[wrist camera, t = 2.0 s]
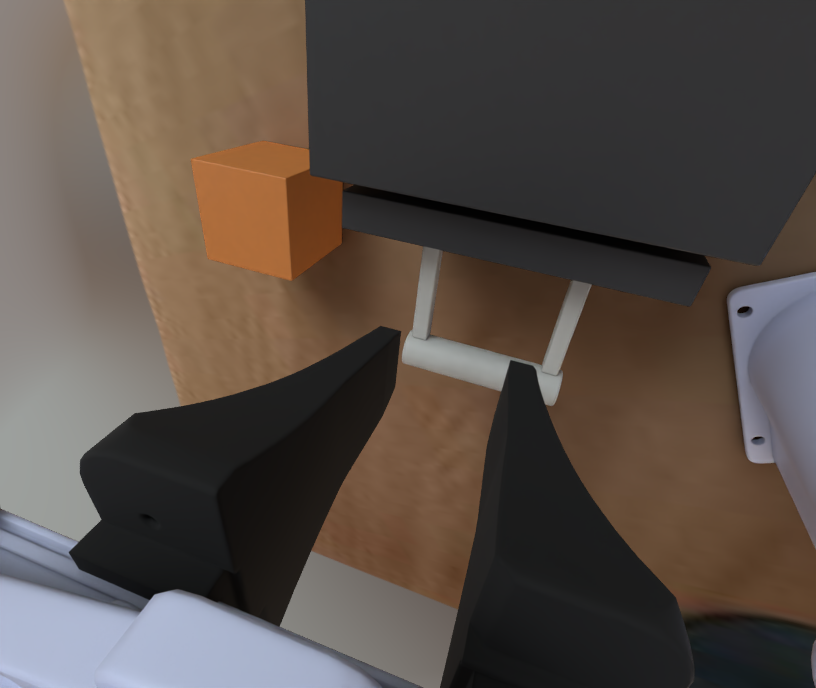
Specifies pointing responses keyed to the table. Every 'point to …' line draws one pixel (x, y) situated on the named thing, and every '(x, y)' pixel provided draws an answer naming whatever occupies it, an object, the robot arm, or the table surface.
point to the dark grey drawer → (522, 248)
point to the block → (267, 209)
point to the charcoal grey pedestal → (575, 111)
